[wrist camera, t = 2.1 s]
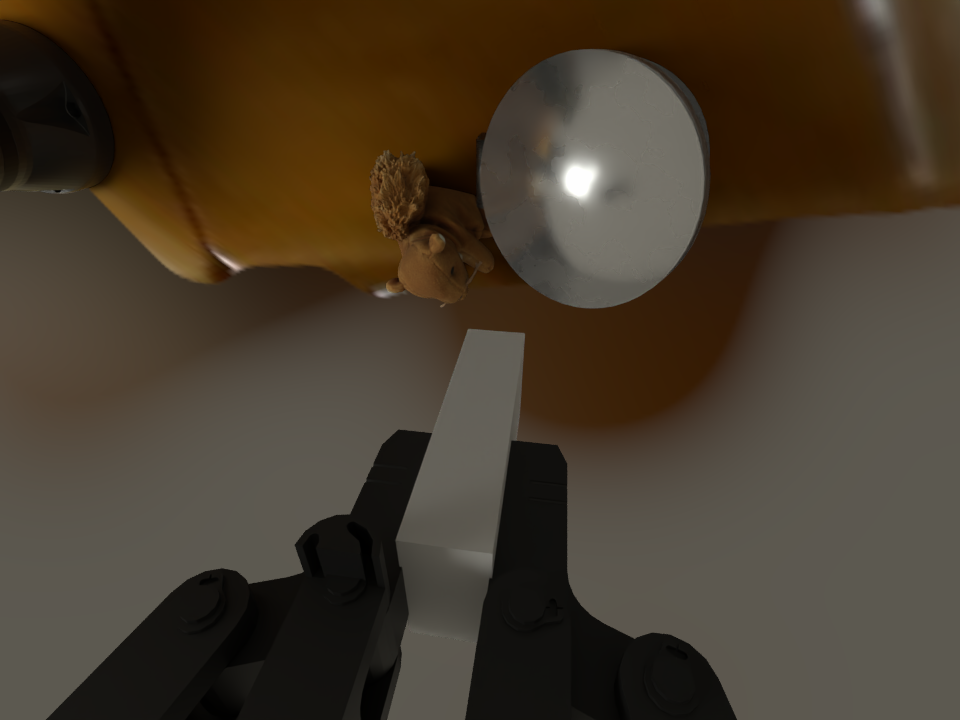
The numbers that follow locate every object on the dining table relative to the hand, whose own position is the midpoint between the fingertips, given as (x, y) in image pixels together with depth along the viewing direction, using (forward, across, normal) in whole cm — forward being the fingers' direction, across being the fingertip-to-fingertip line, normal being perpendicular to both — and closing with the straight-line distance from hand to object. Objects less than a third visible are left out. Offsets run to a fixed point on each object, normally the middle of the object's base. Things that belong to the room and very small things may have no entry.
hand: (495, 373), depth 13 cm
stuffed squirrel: (+36, -10, -7) cm, 38 cm away
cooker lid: (+21, +3, 0) cm, 21 cm away
